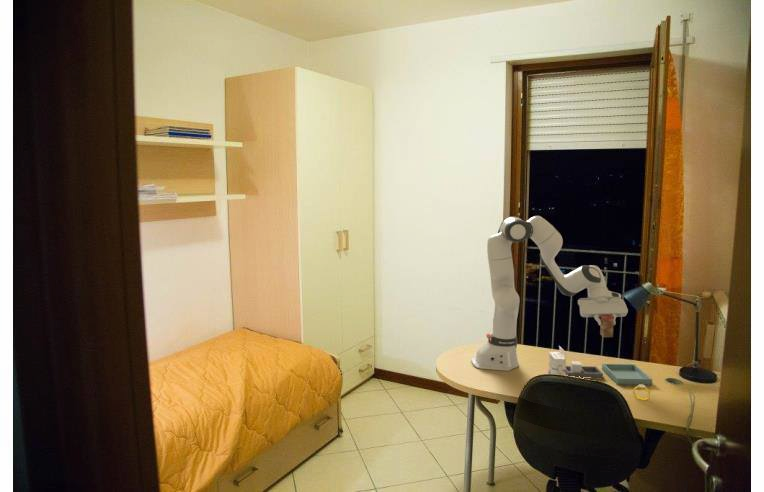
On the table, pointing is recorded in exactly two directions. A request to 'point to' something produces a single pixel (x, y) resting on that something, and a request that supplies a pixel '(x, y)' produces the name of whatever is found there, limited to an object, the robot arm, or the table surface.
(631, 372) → the slate-green tray
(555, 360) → the ink cartridge box
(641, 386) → the gold ring
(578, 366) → the pale grey fuse
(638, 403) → the table surface
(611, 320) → the cylinder
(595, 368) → the fuse rack
